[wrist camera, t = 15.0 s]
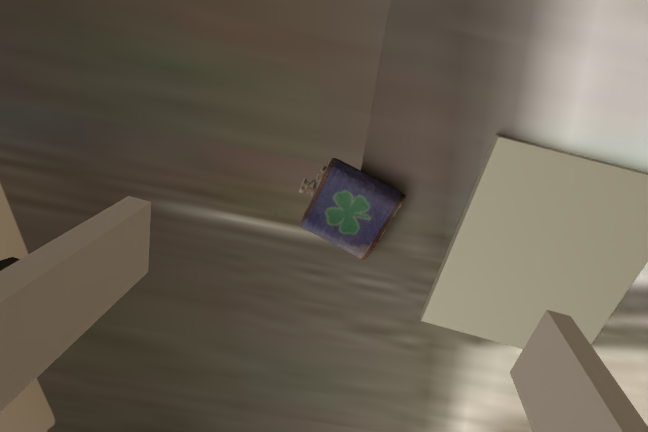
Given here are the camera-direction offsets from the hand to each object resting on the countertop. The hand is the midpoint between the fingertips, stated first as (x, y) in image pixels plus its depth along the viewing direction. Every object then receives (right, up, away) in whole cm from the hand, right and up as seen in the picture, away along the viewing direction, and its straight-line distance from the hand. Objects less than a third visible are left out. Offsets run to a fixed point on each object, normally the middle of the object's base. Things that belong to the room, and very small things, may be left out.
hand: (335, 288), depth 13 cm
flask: (+7, +3, +34) cm, 35 cm away
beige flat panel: (+24, -2, +32) cm, 40 cm away
